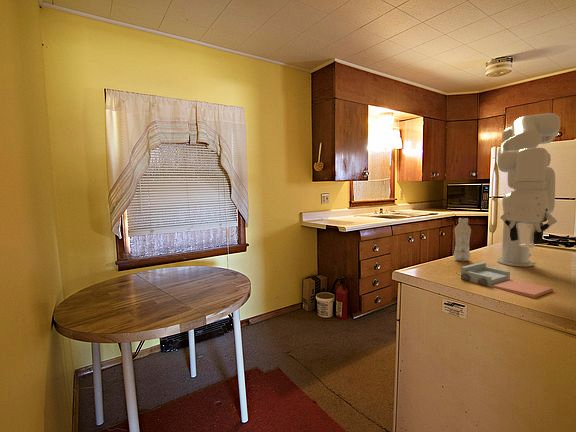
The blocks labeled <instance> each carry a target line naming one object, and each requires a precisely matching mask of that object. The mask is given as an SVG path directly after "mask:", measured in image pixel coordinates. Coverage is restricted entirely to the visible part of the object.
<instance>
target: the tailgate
mask: <svg viewBox="0 0 576 432" xmlns="http://www.w3.org/2000/svg"><path fill="white" fill-rule="evenodd" d="M492 288H495V289H498V290H499V289H500V290H501V291H507V292H510V293H513V294H517V295H519V296H525V297H528V298H533V299H534V298H538V297H541V296H544V295H546V294H548V293H551V292H553V291H554V288H553V287H551V286H547V285H546V286H545V285H540V284H535V283H531V282H526V281H525V282H524V281H519V280H515V279H510V280H509V281H505V282H502V283H499V284H495V285H493V287H492Z"/></svg>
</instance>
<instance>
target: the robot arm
mask: <svg viewBox="0 0 576 432" xmlns="http://www.w3.org/2000/svg"><path fill="white" fill-rule="evenodd" d="M561 123H562V122H561V118H560V116H559V115H558V114H556V113H553V112H548V113H547V112H546V113H538V114H530V115H529V114H527V115H524V116H523V115H522V116H520V117H519V118H517V119H516V120H514V121H513V123H512V125H511V127H507V128H505V129H504V130H503V132H502V137H501V138H502V143H501V145H500V146H499V148H498V151H497V168H498V170H499V171H501V172H502V173H507V185H508V187H509V188H511V189H513V190H512V191H511V192H508V193H506V194H505V195H504V196H503V197H502V201H501V202H502V210H503V211H502V212H503V214H502V215H501V216H500V220H502V221H503V230H502V243H501V244H502V245H501V246H502V247H501V249H502V250H501V257H498V258H497V259H496V261H497V263H499V264H502V265H506V266H511V267H523V268H524V267H525V268H526V267H529V268H530V267H532V266H534V263H533V261H531V260H529V259H530V258H531V257H532V253H531V252H530V247H529V248H526V247H521V246H519V244H522V243H519V241H518V237H517V230H516V222H528V223H534V225H535V228H536V232H534V244H533V245H539V244H542V242H543V239H544V232H545V231H546V230H547V229H549V228H550V227H552V226H554V225H555V224H557V222H558V220H557V219H556V218H555V217H554V216H553V215H552V213H553V212H554V210H555V203H556V173H555V171H554V169H553V168H552V167H550V165H551V161H552V160H551V153H549V152H548V150H547V149H546V148H545V147H538V146H539V145H545V144H550V143H552V142H553V141H554V140H555V139H556V137H557V135H558V134H559V132H560V129H561ZM545 222H546V223H545Z"/></svg>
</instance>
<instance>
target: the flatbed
mask: <svg viewBox="0 0 576 432" xmlns="http://www.w3.org/2000/svg"><path fill="white" fill-rule="evenodd" d="M486 265H487V263H486V262H483V261H481V262H477V263H472V264H468V265H463V266H461V267H460V268H461V269H460V271H461V273H460V279H461V280H463V281H466V282H471V283H475V284H478V285H480V286H483V287H490V288H494V287H493V285H495V284H499V283H502V282H505V281H509V280H511V271H509V270H504V269H499V268H495V267H492V266H491V267H490V266H488V265H487V266H486Z"/></svg>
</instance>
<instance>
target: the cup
mask: <svg viewBox="0 0 576 432" xmlns="http://www.w3.org/2000/svg"><path fill="white" fill-rule="evenodd" d="M516 230H517V237H518V241H519V243H522V244H519V246H521V247H526V248H529V249H530V248H536V246H537V245H536V244H534V232H536V228H535V225H534V223H528V222H516Z"/></svg>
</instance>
